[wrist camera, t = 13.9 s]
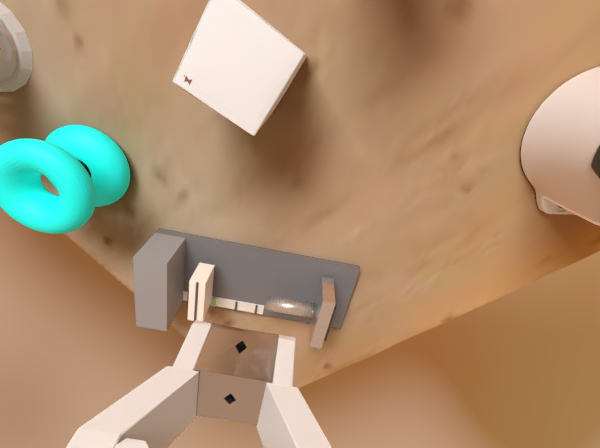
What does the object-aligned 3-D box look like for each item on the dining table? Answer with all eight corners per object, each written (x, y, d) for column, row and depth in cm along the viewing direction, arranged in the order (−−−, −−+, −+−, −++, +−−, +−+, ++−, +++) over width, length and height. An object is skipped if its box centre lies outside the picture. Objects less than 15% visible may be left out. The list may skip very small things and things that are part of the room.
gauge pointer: (214, 265, 43) (205, 284, 40) (211, 301, 46) (202, 322, 43) (199, 262, 43) (189, 281, 40) (197, 299, 46) (187, 320, 43)
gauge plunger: (336, 279, 44) (338, 304, 40) (323, 322, 48) (324, 349, 43) (273, 267, 44) (268, 291, 39) (264, 311, 47) (259, 337, 43)
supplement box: (271, 115, 37) (252, 141, 25) (214, 74, 35) (166, 81, 24) (310, 55, 34) (307, 54, 23) (249, 7, 32) (214, -21, 21)
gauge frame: (358, 266, 45) (365, 300, 39) (339, 323, 50) (343, 361, 44) (159, 228, 44) (132, 257, 38) (159, 290, 49) (136, 325, 43)
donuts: (33, 251, 34) (-46, 169, 31) (91, 212, 43) (35, 144, 39) (105, 217, 32) (29, 123, 28) (151, 183, 41) (98, 107, 37)
